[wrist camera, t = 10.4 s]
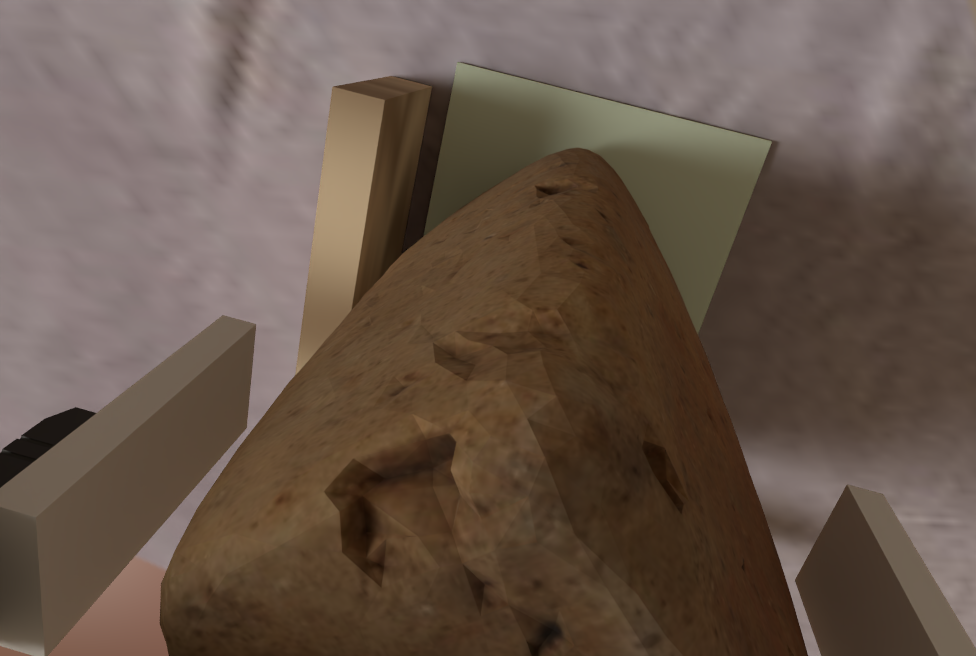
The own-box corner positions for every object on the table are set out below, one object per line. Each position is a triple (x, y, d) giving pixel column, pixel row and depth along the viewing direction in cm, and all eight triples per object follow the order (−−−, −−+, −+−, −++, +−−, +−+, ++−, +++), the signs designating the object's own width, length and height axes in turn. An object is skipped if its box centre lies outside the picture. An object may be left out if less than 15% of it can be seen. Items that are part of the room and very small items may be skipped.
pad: (458, 62, 24) (457, 61, 24) (770, 140, 24) (772, 141, 24) (391, 404, 30) (390, 406, 30) (643, 473, 30) (643, 476, 29)
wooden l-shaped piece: (391, 76, 25) (332, 86, 19) (831, 187, 24) (899, 231, 19) (335, 424, 31) (278, 508, 25) (687, 522, 30) (707, 630, 25)
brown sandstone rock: (418, 212, 26) (12, 605, 8) (600, 112, 24) (604, 343, 6) (552, 441, 29) (475, 1110, 11) (726, 370, 27) (993, 1067, 9)
